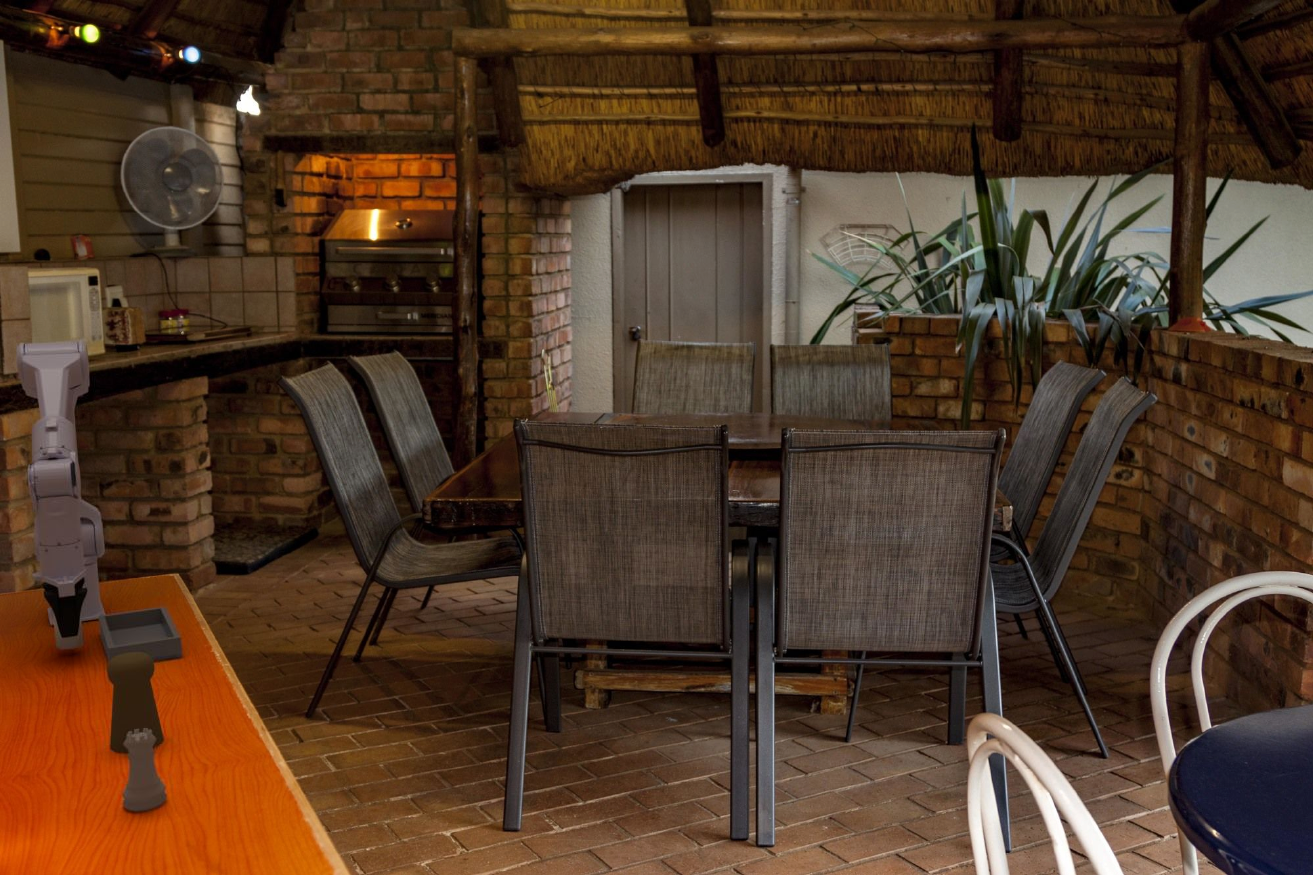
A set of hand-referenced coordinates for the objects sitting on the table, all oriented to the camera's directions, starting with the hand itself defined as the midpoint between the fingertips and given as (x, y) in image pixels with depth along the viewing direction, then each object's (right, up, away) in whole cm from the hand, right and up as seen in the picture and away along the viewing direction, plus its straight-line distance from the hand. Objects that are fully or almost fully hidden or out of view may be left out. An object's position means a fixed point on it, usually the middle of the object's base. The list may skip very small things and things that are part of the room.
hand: (68, 632), depth 182 cm
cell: (0, -2, 0) cm, 2 cm away
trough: (+9, -3, +4) cm, 10 cm away
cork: (+23, -8, -32) cm, 40 cm away
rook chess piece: (+31, -11, -48) cm, 58 cm away
